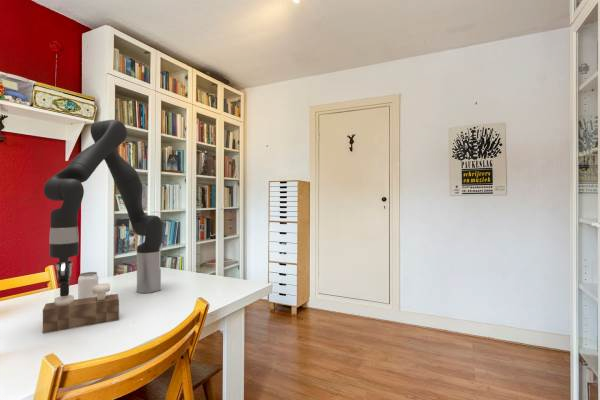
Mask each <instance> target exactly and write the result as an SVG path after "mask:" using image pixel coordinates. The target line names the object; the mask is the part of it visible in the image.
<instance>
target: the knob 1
mask: <svg viewBox="0 0 600 400" xmlns="http://www.w3.org/2000/svg"><path fill="white" fill-rule="evenodd" d="M74 300H75V296H74V295H73V294H69V295H68V296H62V297H61V296H60V295H59V296H57V297H55V298H54V300H53V301H54V302H53V303H54V306H67V305H70V304H73V303H74Z"/></svg>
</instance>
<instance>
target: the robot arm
mask: <svg viewBox="0 0 600 400" xmlns="http://www.w3.org/2000/svg"><path fill="white" fill-rule="evenodd" d="M90 135H91V138H92V140H93V142H94V143H93V144H91V145H90V146H87V147H86V148H84V149H83V150H81V151H80V152H79V153H78V154H77V155H76V156H75V157H74V158H73V159H72V160H71V161H70V163H69V164H68V165H67V166H66V167H64V168H63V169H61V170H60V171H58V172H57V173H55V174H54V175H52V176H51V177H50V178H49V179H48V180H47V181H46V182H45V184H44V185H43V193H44V196H45V197H46V199H48V200H50V201H58V202H60V201H61V202H62V204H61V206H60V207H59V208H55V209H52V210H51V212H50V216H49V217H50V220H49V221H50V222H49V223H50V225H49V226H50V229H49V237H48V238H49V239H48V240H49V244H48V245H49V250H48V251H49V258H52V259H58V261H57V262H56V264H55V269H56V274H57V279H58V281H57V282H58V284H59V297H60V296H61V297H62V296H68V295H70V283H71V275H72V267H73V260H70V257H71V258H72V257H76V256H78V255H79V254H80V253H79V251H80V247H79V245H80V241H79V239H80V237H79V235H80V234H79V228H78V227H79V226H78V225H79V224H78V221H79V219H78V215H79V210H80V208H81V206H82V205H81V204H82V201H83V197H84V195H85V194H84V193H85V190H84V186H83V184H82V183H84V182H86V181H88V180H89V178H90V177H91V176H92V174H93V173H94V172H95V171H96V169H97V168H98V167H99V165H100V164H101V163H103V161H104V163H105V164H106V166H107V168H108V170H109V173H110V174H111V177H112V179H113V182H114V184H115V187H116V189H117V191H118V192H119V195H120V197H121V200H122V202H123V204H124V206H125V208H126V209H125V210H126V211H127V216H128V217H129V221H130V225H131V228H132V230H133V232H134V234H135V235H137V236H141V237H144V242H143V243H141V244H138V245H137V246H136V292H137V293H139V294H150V293H154V292H157V291H161V290H162V287H161V286H162V285H161V284H162V281H161V280H162V276H161V275H162V269H161V267H160V266H161V246H162V243H163V222H162V219H161V217H159V216H158V215H150V214H149V215H147V214H146V213H145V211H144V209H143V205H142V197H143V191H144V190H143V189H144V188H143V183H142V181H141V178H140V176H139V173H138V172H137V170H136V169H135V168H134V167H133V166H132V165H131V164H130V163H129V162H127V160H125V159H124V158H123V157H122V156H121V155H120V154H119V152H118V150H117V148H118V147H120V145H121V144H122V143H124V142H125V140H127V139H126V138H127V135H128V131H127V127H126V125H125V124H124V123H123V122H122V121H121V120H119V119H108V120H100V121H94V122H93V123H92V124H91V125H90Z"/></svg>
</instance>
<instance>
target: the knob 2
mask: <svg viewBox="0 0 600 400" xmlns="http://www.w3.org/2000/svg"><path fill="white" fill-rule="evenodd" d="M110 291H111V283H108V282H107V283H106V282H105V283H104V282H103V283H98V284H96V285H93V286H92V293H97V300H104V299H106V295H107V294H106V293H107V292H110Z"/></svg>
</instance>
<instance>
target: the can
mask: <svg viewBox="0 0 600 400" xmlns="http://www.w3.org/2000/svg"><path fill="white" fill-rule="evenodd" d="M96 284H99V275H98V272H97V271H88V272H82V273H80V274H79V277H78V280H77V299H83V298H90V297H97V293H92V286H93V285H96Z"/></svg>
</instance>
